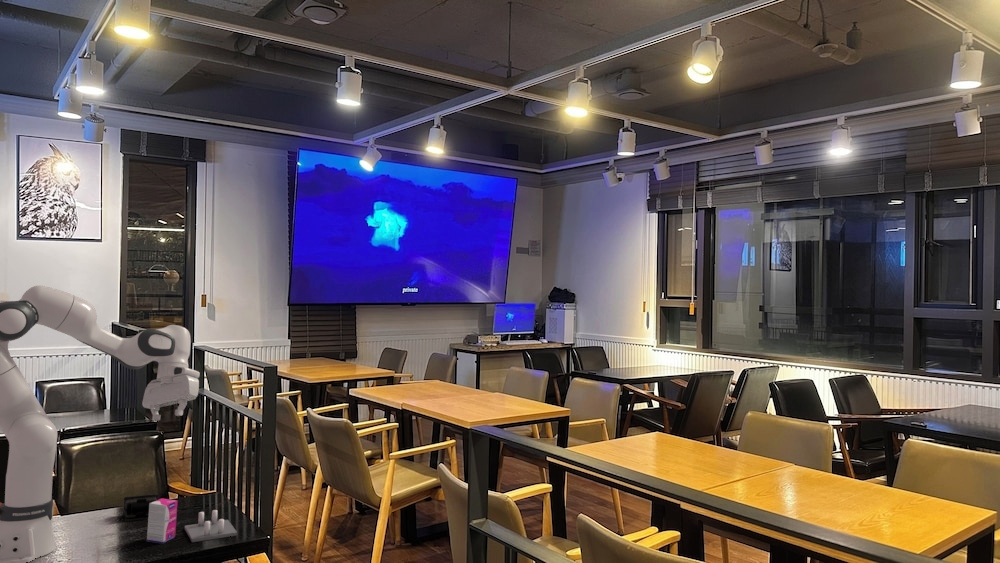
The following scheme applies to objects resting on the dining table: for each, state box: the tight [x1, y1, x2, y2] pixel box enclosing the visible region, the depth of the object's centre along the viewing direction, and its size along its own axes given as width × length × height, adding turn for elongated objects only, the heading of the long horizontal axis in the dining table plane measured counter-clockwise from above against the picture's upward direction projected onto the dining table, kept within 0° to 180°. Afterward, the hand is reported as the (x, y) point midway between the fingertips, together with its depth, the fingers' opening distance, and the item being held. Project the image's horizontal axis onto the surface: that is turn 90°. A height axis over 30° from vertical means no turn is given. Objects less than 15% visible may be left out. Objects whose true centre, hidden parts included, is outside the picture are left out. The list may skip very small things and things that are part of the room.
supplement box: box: [146, 498, 179, 544], centre depth 213 cm, size 6×6×12 cm
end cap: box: [122, 493, 159, 522], centre depth 233 cm, size 10×7×7 cm
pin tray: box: [184, 509, 238, 543], centre depth 221 cm, size 13×13×5 cm
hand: (167, 418), depth 221 cm, fingers open, 8 cm apart
